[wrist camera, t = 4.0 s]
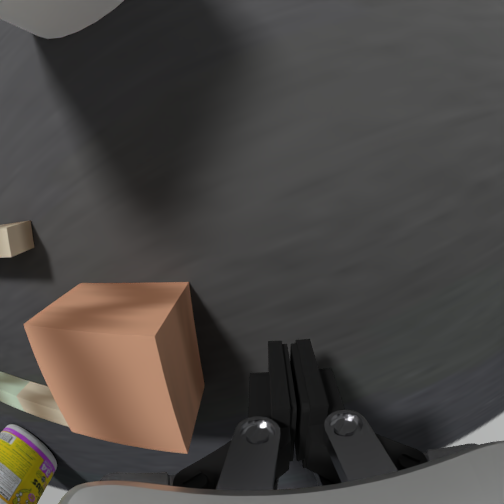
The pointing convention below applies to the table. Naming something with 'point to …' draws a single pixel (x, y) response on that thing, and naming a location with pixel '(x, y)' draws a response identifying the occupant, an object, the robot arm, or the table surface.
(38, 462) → the supplement bottle
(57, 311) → the terracotta block
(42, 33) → the base with upright slab
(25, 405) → the walled lane
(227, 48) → the table surface
